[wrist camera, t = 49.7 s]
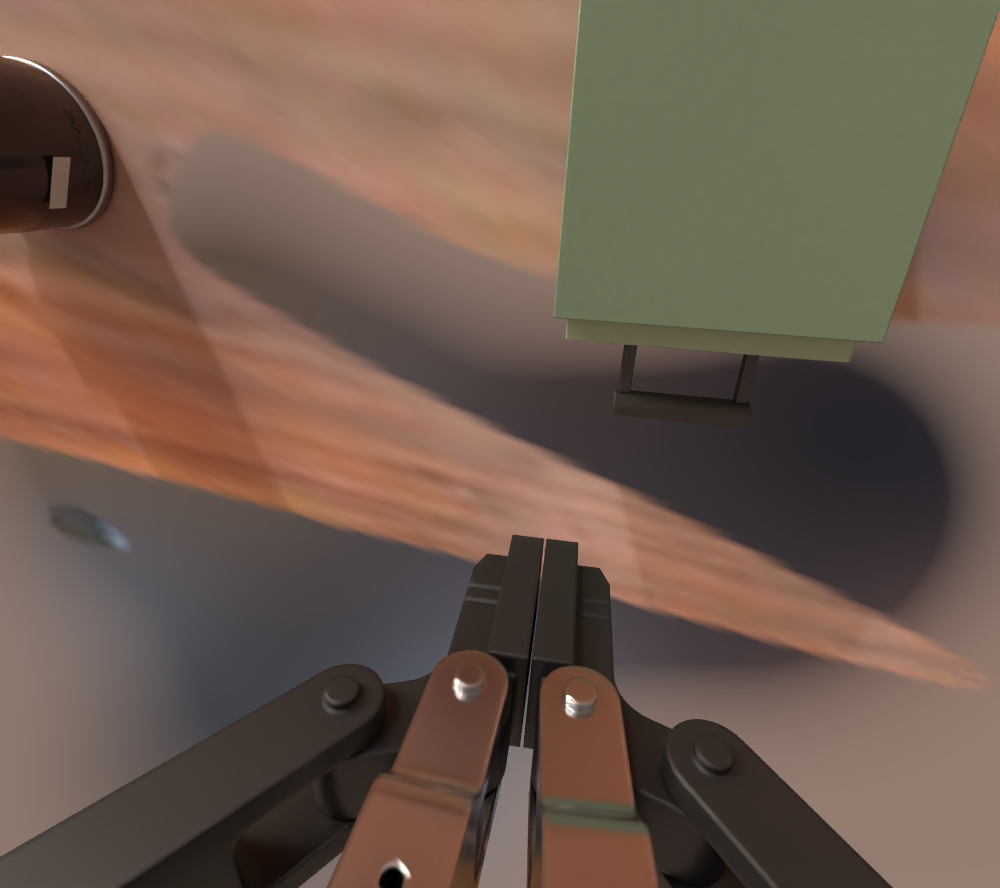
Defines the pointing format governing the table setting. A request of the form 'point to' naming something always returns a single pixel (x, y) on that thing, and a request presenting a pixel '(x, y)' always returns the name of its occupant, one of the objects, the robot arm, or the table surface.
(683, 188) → the cabinet
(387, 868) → the robot arm
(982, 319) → the table surface
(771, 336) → the drawer
